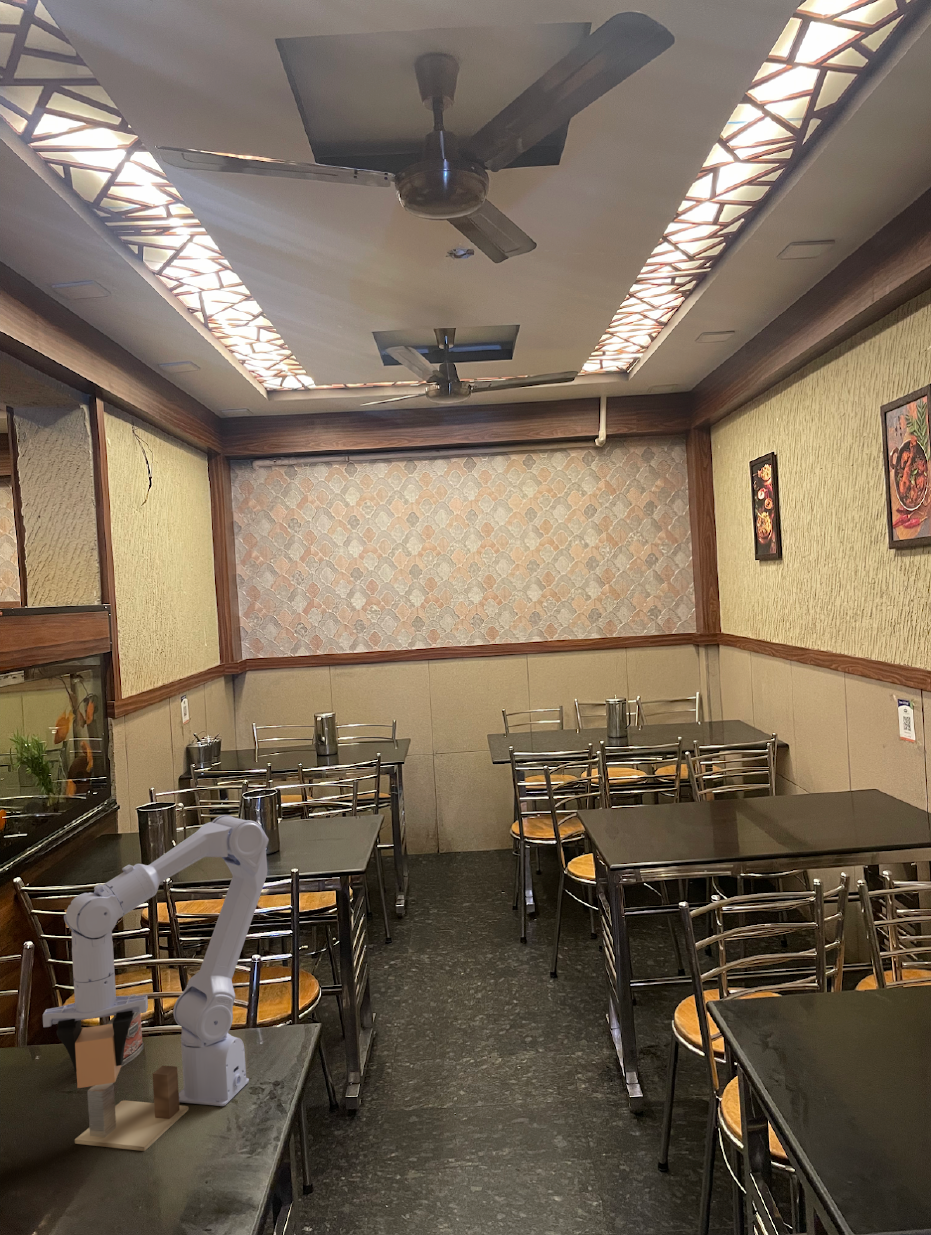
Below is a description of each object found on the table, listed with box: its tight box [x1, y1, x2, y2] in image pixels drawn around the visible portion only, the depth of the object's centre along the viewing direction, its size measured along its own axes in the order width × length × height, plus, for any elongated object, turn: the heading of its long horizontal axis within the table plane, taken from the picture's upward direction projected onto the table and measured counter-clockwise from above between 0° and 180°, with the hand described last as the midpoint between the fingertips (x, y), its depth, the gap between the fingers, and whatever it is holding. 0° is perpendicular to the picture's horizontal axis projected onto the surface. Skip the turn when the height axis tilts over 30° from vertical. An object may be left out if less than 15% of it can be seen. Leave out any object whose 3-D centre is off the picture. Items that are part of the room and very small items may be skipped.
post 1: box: [87, 1082, 116, 1137], centre depth 132 cm, size 3×3×7 cm
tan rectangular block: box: [75, 1024, 122, 1089], centre depth 132 cm, size 5×5×7 cm
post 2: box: [152, 1065, 180, 1119], centre depth 136 cm, size 3×3×7 cm
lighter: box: [106, 994, 145, 1068], centre depth 157 cm, size 8×3×10 cm, turn 168°
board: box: [74, 1099, 189, 1152], centre depth 134 cm, size 12×11×1 cm
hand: (99, 1065), depth 132 cm, fingers closed on tan rectangular block, 5 cm apart
